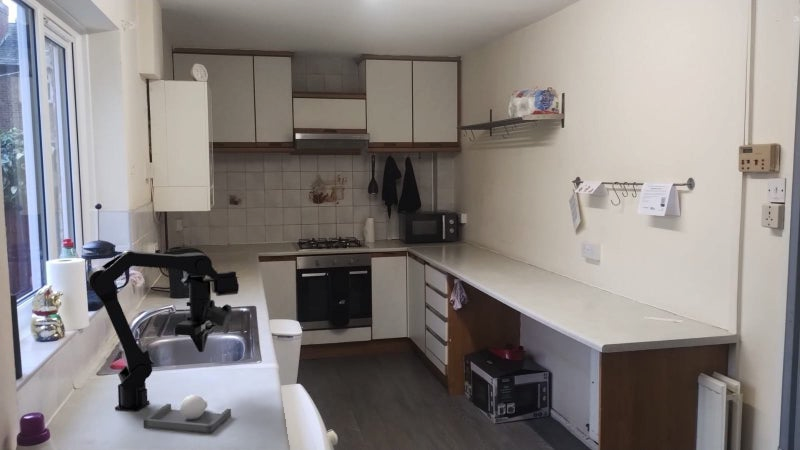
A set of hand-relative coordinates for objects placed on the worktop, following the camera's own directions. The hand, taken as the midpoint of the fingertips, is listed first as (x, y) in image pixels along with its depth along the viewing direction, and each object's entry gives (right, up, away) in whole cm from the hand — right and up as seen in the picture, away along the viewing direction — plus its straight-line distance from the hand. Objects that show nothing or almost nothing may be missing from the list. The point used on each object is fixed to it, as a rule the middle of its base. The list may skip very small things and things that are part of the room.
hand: (201, 351), depth 177 cm
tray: (+2, -14, -18) cm, 23 cm away
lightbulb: (+4, -12, -9) cm, 16 cm away
